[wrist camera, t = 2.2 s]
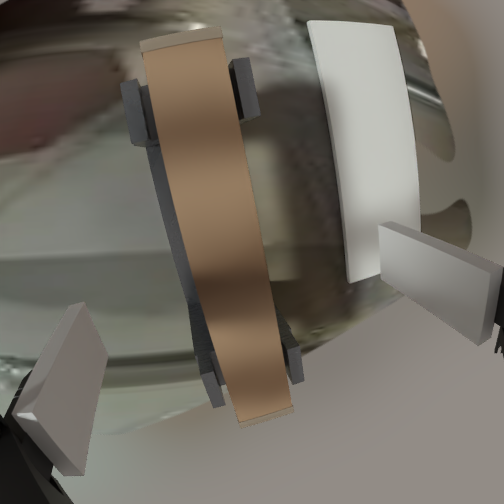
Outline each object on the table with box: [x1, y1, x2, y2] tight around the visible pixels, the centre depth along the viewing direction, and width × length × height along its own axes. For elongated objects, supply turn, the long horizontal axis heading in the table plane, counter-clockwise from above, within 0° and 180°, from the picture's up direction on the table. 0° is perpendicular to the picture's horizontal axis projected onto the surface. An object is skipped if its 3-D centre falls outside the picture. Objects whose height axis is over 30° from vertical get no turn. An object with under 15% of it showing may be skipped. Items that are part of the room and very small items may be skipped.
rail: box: [139, 26, 294, 428], centre depth 17 cm, size 22×4×3 cm, turn 11°
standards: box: [120, 57, 304, 408], centre depth 21 cm, size 22×6×10 cm, turn 11°
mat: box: [307, 21, 421, 283], centre depth 27 cm, size 24×9×1 cm, turn 11°
